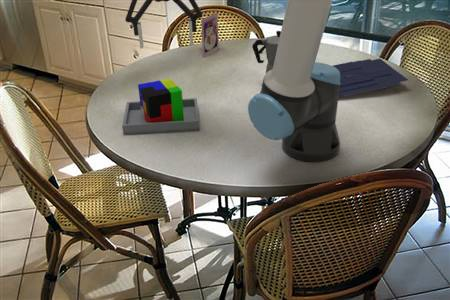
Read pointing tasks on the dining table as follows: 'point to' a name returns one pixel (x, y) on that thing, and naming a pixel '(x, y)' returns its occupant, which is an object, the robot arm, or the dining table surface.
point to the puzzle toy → (161, 101)
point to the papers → (366, 76)
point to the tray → (138, 125)
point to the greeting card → (210, 34)
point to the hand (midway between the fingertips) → (166, 45)
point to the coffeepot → (267, 49)
